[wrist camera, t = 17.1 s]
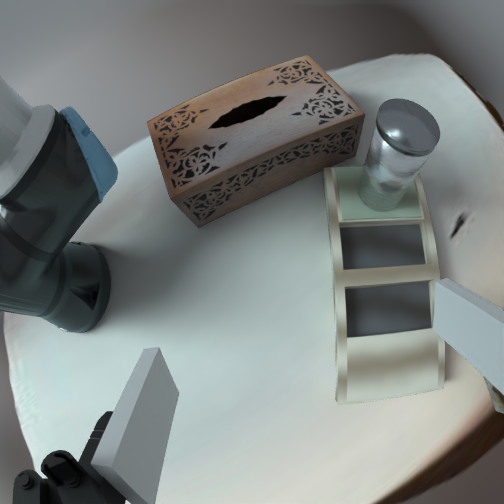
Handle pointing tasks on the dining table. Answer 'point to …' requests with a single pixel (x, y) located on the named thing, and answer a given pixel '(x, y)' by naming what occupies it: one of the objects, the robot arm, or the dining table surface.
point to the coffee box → (496, 396)
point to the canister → (396, 153)
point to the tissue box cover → (254, 137)
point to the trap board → (382, 293)
